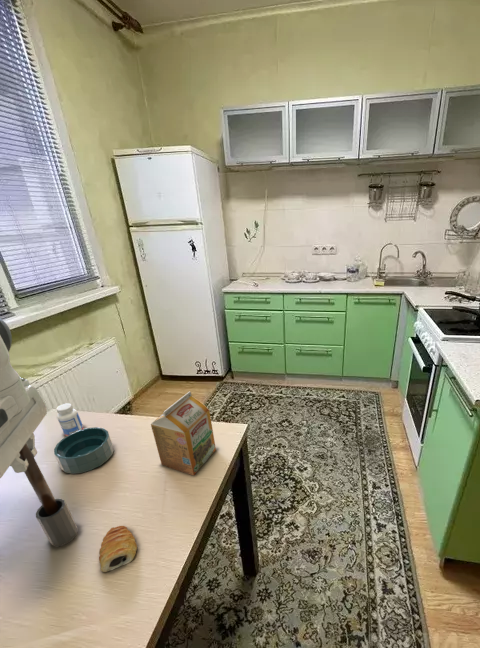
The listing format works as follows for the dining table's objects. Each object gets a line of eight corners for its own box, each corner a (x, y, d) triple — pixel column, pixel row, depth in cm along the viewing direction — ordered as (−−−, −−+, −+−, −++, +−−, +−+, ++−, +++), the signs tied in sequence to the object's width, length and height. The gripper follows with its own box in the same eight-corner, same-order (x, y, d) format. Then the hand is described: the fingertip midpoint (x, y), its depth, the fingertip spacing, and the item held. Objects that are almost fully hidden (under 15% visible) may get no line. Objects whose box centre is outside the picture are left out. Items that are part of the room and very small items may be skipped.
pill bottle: (73, 426, 106) (62, 401, 102) (87, 427, 105) (78, 402, 101) (60, 436, 101) (49, 411, 97) (75, 438, 101) (65, 412, 96)
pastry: (100, 539, 69) (95, 527, 68) (133, 525, 72) (129, 513, 71) (102, 577, 62) (97, 565, 60) (140, 560, 65) (135, 548, 63)
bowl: (54, 480, 85) (45, 463, 82) (70, 447, 97) (64, 431, 94) (108, 470, 88) (102, 453, 85) (118, 439, 99) (113, 423, 97)
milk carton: (193, 475, 85) (181, 416, 77) (162, 465, 89) (146, 408, 80) (216, 450, 94) (206, 394, 85) (186, 442, 97) (174, 387, 89)
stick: (45, 518, 65) (7, 448, 57) (50, 509, 67) (13, 440, 59) (57, 515, 66) (22, 445, 58) (61, 507, 68) (27, 438, 60)
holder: (47, 551, 67) (31, 522, 63) (56, 530, 72) (41, 501, 68) (74, 545, 68) (59, 515, 64) (81, 524, 73) (68, 496, 69)
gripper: (4, 375, 63) (32, 432, 69) (-71, 441, 45) (-24, 510, 51) (41, 371, 64) (65, 427, 70) (-18, 433, 46) (21, 501, 52)
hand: (27, 463), depth 61 cm, fingers closed on stick, 2 cm apart
